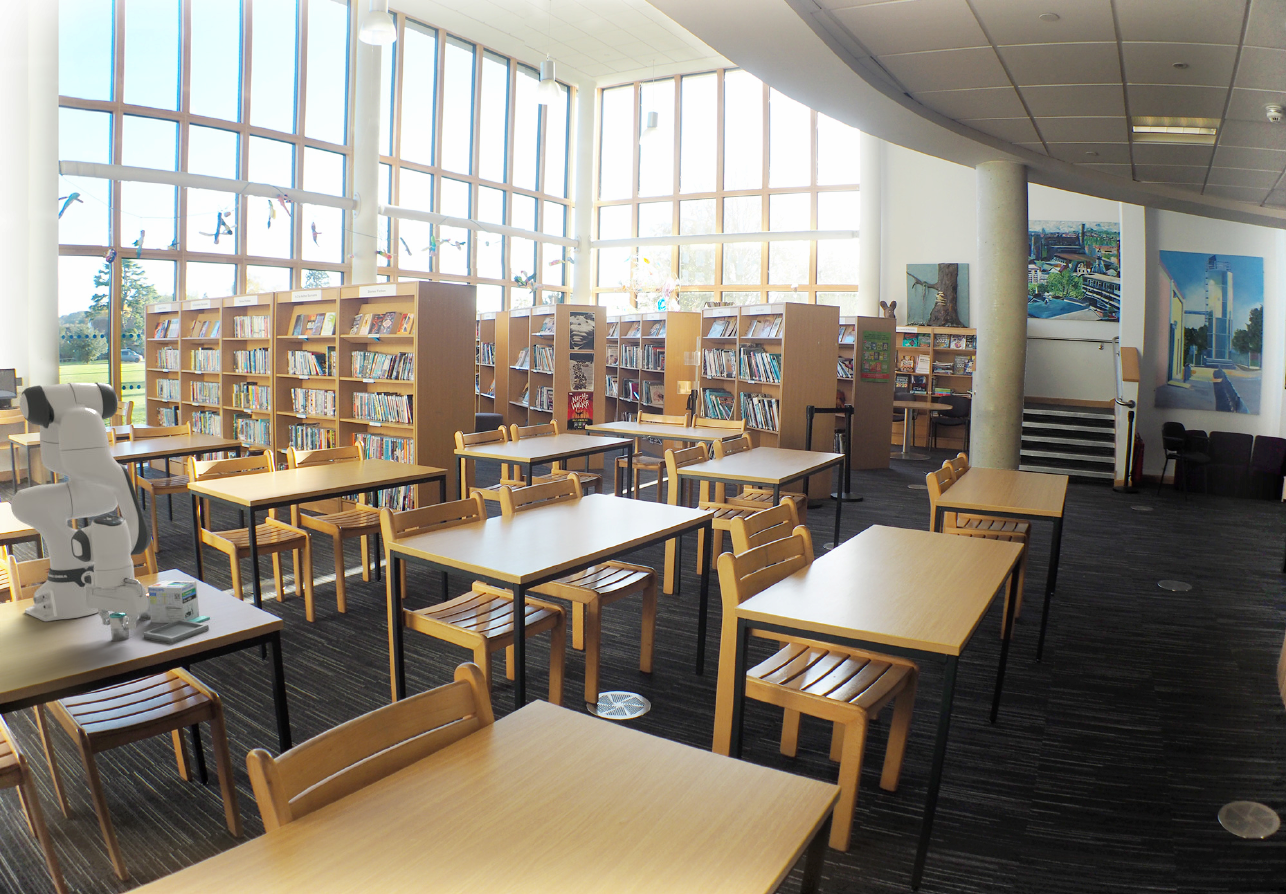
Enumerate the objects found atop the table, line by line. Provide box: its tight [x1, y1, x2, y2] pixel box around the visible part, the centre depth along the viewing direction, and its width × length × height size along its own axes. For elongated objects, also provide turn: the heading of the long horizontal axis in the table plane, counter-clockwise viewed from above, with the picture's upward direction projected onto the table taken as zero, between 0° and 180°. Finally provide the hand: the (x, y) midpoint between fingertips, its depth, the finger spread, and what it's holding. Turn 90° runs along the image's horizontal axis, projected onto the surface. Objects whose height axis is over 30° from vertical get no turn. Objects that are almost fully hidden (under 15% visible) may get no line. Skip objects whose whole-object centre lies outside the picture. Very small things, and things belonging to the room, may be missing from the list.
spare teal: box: [109, 612, 131, 642], centre depth 212 cm, size 4×4×7 cm
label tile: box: [188, 615, 211, 623], centre depth 225 cm, size 3×5×1 cm, turn 158°
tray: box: [142, 620, 210, 645], centre depth 215 cm, size 11×11×2 cm
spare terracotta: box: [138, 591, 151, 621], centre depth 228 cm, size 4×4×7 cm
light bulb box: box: [147, 579, 200, 624], centre depth 226 cm, size 11×7×11 cm, turn 84°
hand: (119, 626), depth 211 cm, fingers open, 8 cm apart
